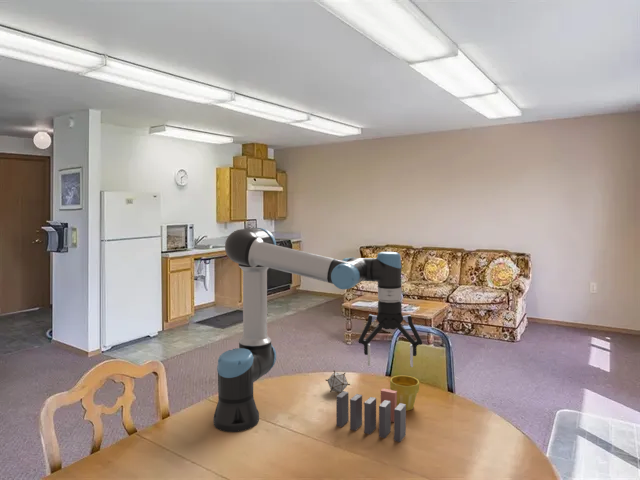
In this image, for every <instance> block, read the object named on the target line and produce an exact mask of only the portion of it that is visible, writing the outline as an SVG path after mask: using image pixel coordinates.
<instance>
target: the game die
mask: <svg viewBox="0 0 640 480" xmlns="http://www.w3.org/2000/svg"><path fill="white" fill-rule="evenodd" d="M325 382H327V384H328V386H329V388H330V390H329V392H330V393H332V392H336V393H338V394H340V393H341V392H342V391H345V389H346V388H347V386H351V384H350V383H348V382H349V381H348V380H347V377H346V372H344V373H341V372H336V370H333V373H332V374H331V376H330V377H329V378H327V379H325Z"/></svg>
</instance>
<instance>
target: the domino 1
mask: <svg viewBox="0 0 640 480" xmlns="http://www.w3.org/2000/svg"><path fill="white" fill-rule="evenodd" d="M335 400H336V402H335V403H336V417H335V418H336V419H335V420H336V427H340V428H343V427H344V426H345V425H346V424H348V422H350V406H349V391H345V390H343V391H342V392H341V393H338V395H336V398H335Z"/></svg>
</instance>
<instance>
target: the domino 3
mask: <svg viewBox="0 0 640 480" xmlns="http://www.w3.org/2000/svg"><path fill="white" fill-rule="evenodd" d="M363 405H364V406H363V407H364V409H363V411H364V412H363V413H364V414H363V415H364V419H363V420H364V425H363V427H364V428H363V429H364V431H363V433H364V434H367V435H371V434H372V433H374V430H376V429H377V398H376V397H373V396H370V397H369V398H368V399H367V400H365V401H364V403H363Z"/></svg>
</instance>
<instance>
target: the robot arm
mask: <svg viewBox="0 0 640 480" xmlns="http://www.w3.org/2000/svg"><path fill="white" fill-rule="evenodd" d="M224 249H225V250H224V251H225V253H226V255H227V257H228V258H229V259H230V261H232V262H234V263H236V264H238V267H239V268H240V269H241V270H242V322H243V323H242V329H243V330H242V337H240V339H239V340H238V347H237V348H232V349H227V350H226V351H224V352H222V353H221V354H220V355H219V357H218V358H217V367H216V370H217V392H218V393H217V395H218V397H217V398H218V399H217V400H218V401H217V404H216V407H215V411H214V414H213V426H214V428H215V429H217V430H219V431H221V432H225V433H226V432H227V433H235V432H243V431H247V430H249V429H252V428H254V427H255V426H256V425H257V424H258V423H259V422H260V412H259V410H258V408H257V404H256V402H255V399H254V398H255V397H254V383H255V382H257V380H259V379H260V378H262V377H263V376H265V375H267V374H268V373H269V372H270V371H271V369H272V368H273V367H275V363H276V361H277V352H276V348H275V347H274V346H273V344H272V338H270V336H269V335H268V271H269V269H273V270H276V271H281V272H284V273H290V274H293V275H297V276H302V277H304V278H308V279H313V280H317V281H319V282H325V283H329V284H332V285H334V286H335V287H336V288H337V289H340V290H349V289H353V288H354V287H355V286H357V285H358V284H360V283H361V282H377V299H378V301H377V315H376V314H375V315H374V314H372V313H369V314H368V317H367V322H366V324H365V326H364V328H363V330H362V332H361V334H360V335H359V337H358V340H357V341H358V343H359V344H361V345H363V353H364V356H367V366H371V343H370V342H372V340H374V338H375V337H376V335H378V333H379V332H380V331H382V329H384V330H396V329H397V330H399V331H400V333H401V334H402V335H403V336H404V337H405V338H406V339H407V341H408V342H410V344H409V363H410V364H409V365H410V368H413V367H414V357H416V356H417V353H418V351H417V347H418V346H421V345H423V341H422V339H421V337H420V334H419V332H418V330H417V328H416V326H415V325H414V323H413V317H412V315H411V314H410V313H409V314H407V315H403V314H402V313H403V312H402V303H403V302H402V301H401V300H402V297H403V296H402V268H403V266H402V257H401V254H400V253H399V252H397V251H381V252H378V253H377V254H376V255H377V256H376V257H374V258H372V257H371V258H368V257H352V256H351V257H345V258H343V259H342V260H341V259H335V258H333V257H330V256H329V257H328V256H323V255H319V254H316V253H311V252H307V251H303V250H299V249H293V248H290V247H286V246H281V245H277V241H276V239H275V236H274V235H273V234H272V232H270V230H268V229H266V228H264V227H263V228H262V227H250V228H241V229H236V230H234V231H232V232H231V233H230V234H228V236H227V238H226V239H225V244H224ZM375 320H376V321H377V323H378V324H377V325H376V327H375V328H374V329H373V330H372V331H371V332H370V334H368V336H367V337H366V335H367V333H368V332H369V329H370V327H371V325H372V323H373V322H375ZM403 321H405V323H408V326H409V328H410V330H411V332H412V334H413V335H414V337H415V339H414V338H413V336H412V335H411V334H410V333H409V332H408V331H407V329H405V327H404V326H403V325H402V322H403Z"/></svg>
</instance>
